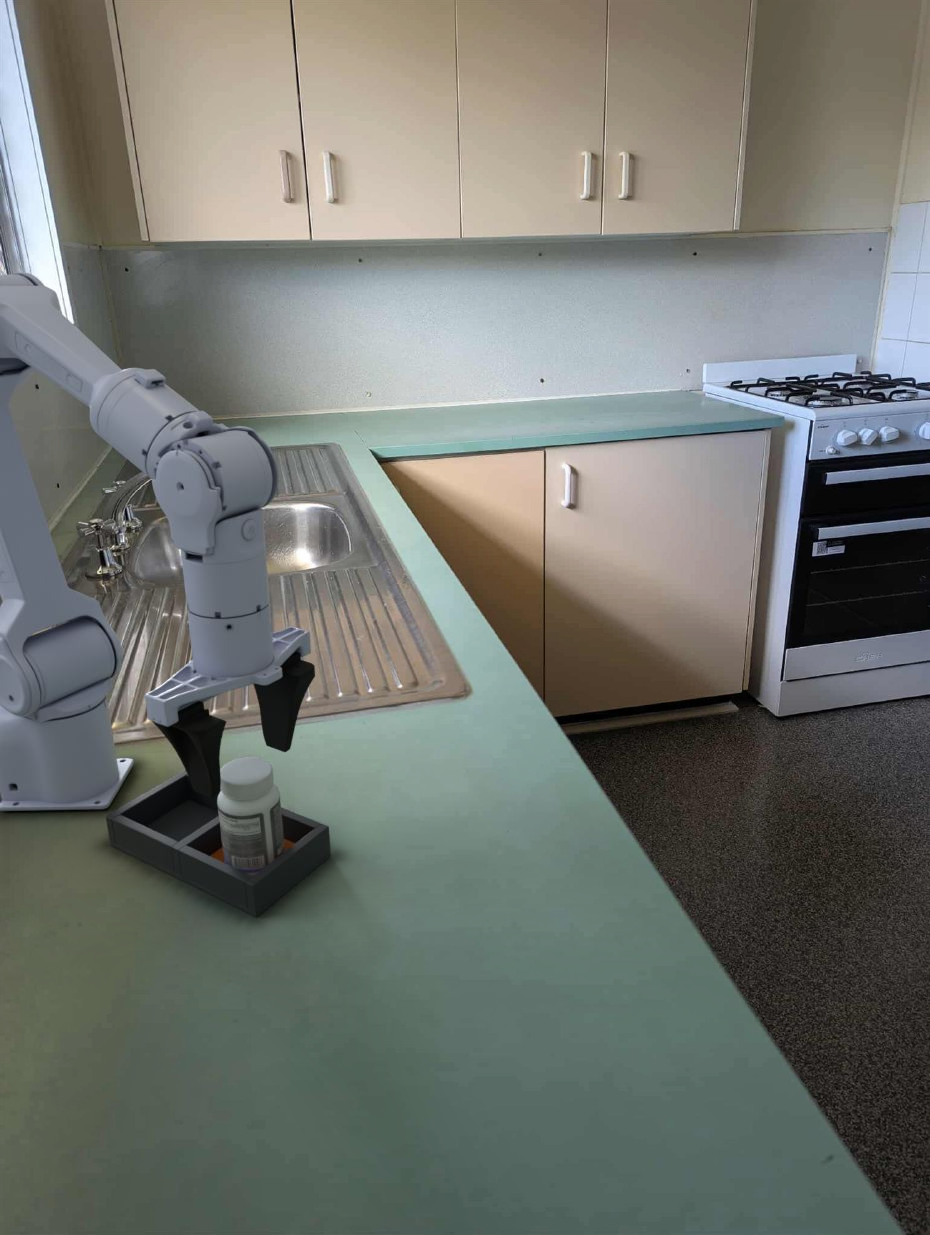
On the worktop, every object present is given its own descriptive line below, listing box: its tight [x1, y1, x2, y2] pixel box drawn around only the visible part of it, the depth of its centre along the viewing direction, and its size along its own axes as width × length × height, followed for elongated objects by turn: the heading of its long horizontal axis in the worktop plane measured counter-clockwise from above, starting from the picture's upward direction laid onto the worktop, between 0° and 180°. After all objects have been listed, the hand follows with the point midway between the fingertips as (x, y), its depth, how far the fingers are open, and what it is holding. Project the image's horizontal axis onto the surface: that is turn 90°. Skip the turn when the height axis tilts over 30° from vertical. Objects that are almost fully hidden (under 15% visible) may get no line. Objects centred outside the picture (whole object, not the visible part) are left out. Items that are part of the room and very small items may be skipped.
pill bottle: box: [217, 756, 285, 876], centre depth 68 cm, size 5×5×8 cm
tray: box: [105, 769, 332, 918], centre depth 71 cm, size 16×9×3 cm, turn 59°
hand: (244, 768), depth 67 cm, fingers open, 7 cm apart
